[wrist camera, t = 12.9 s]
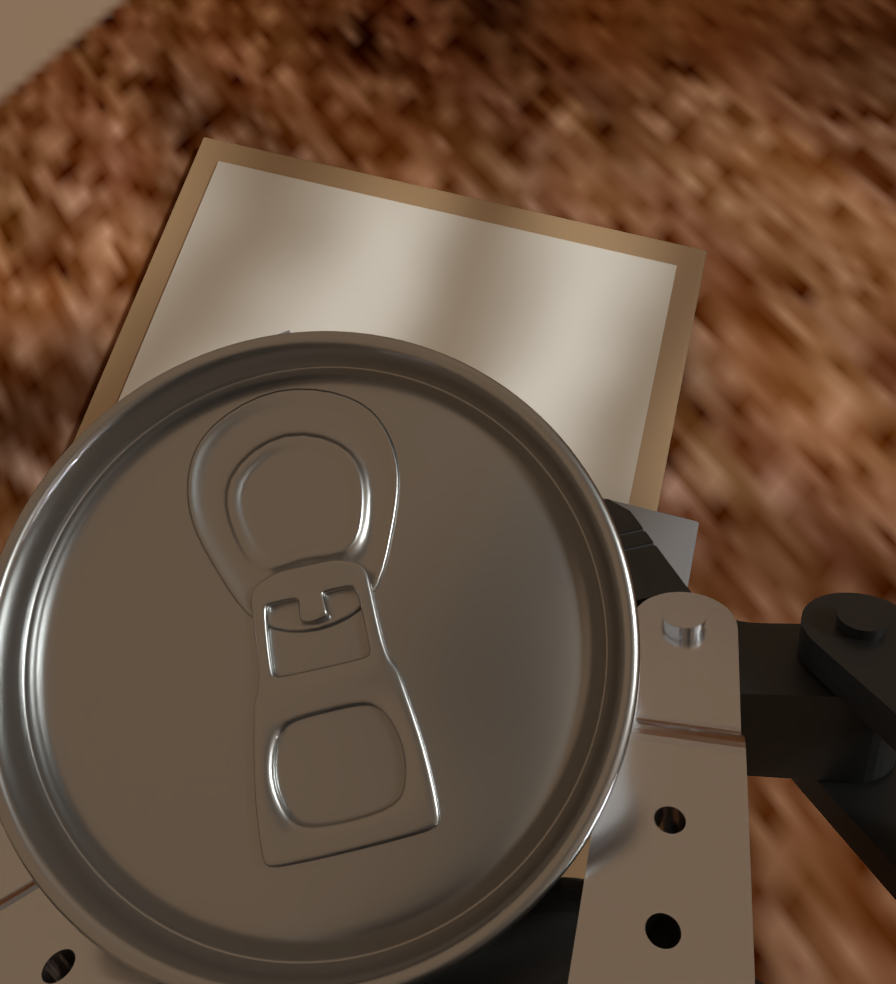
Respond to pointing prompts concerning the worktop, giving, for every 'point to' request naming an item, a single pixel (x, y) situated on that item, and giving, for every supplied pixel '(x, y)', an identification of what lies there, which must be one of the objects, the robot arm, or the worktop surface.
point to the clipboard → (431, 305)
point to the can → (311, 666)
